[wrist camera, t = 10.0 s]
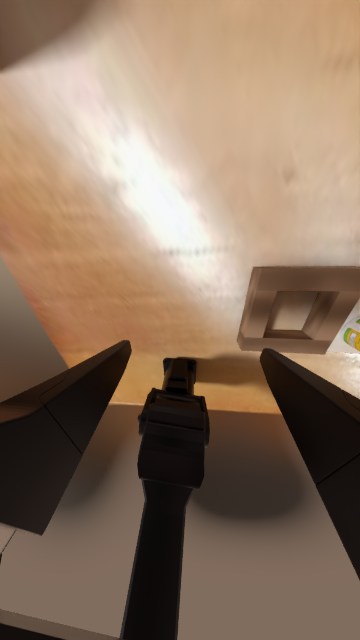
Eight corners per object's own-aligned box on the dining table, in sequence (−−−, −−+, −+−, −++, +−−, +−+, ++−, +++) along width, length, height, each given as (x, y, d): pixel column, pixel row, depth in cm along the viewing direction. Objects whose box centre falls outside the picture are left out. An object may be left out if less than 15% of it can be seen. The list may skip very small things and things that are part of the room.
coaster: (371, 351, 22) (376, 354, 21) (312, 349, 22) (314, 351, 22) (415, 298, 18) (422, 300, 17) (340, 297, 18) (345, 298, 18)
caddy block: (311, 344, 22) (324, 354, 20) (236, 341, 23) (241, 350, 21) (353, 266, 17) (378, 268, 14) (253, 267, 18) (261, 269, 15)
